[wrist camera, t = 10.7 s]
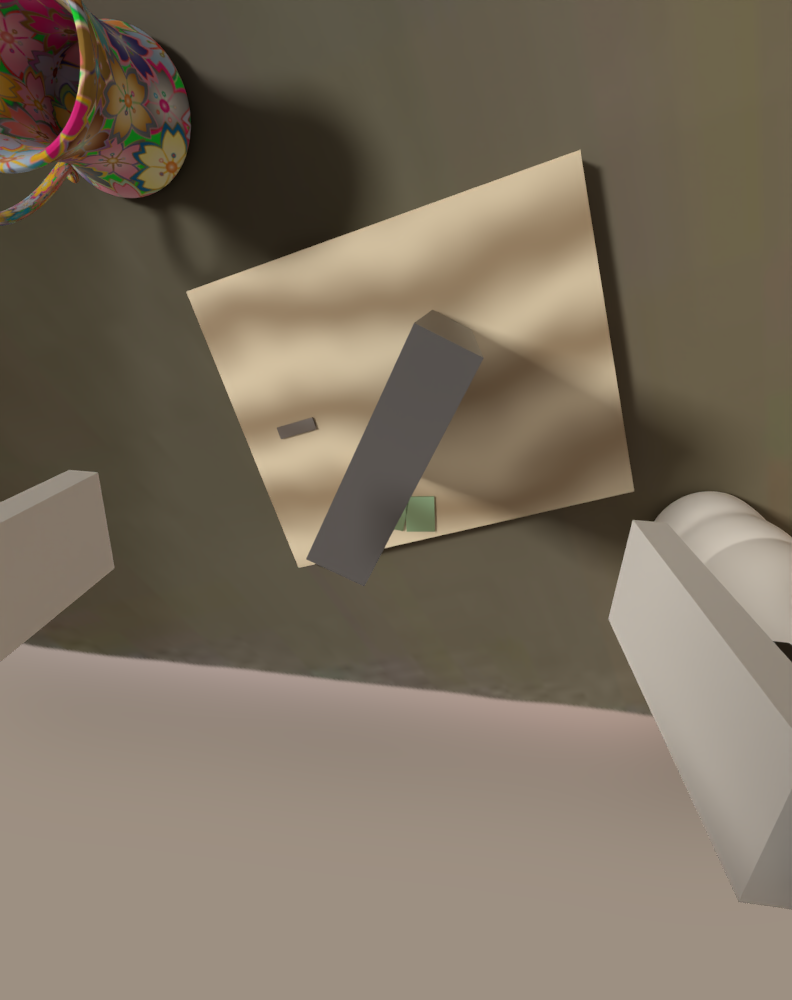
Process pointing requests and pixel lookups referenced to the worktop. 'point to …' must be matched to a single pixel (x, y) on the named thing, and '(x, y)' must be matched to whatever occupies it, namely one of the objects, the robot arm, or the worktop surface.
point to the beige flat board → (383, 332)
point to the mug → (86, 102)
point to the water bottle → (739, 554)
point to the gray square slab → (397, 445)
